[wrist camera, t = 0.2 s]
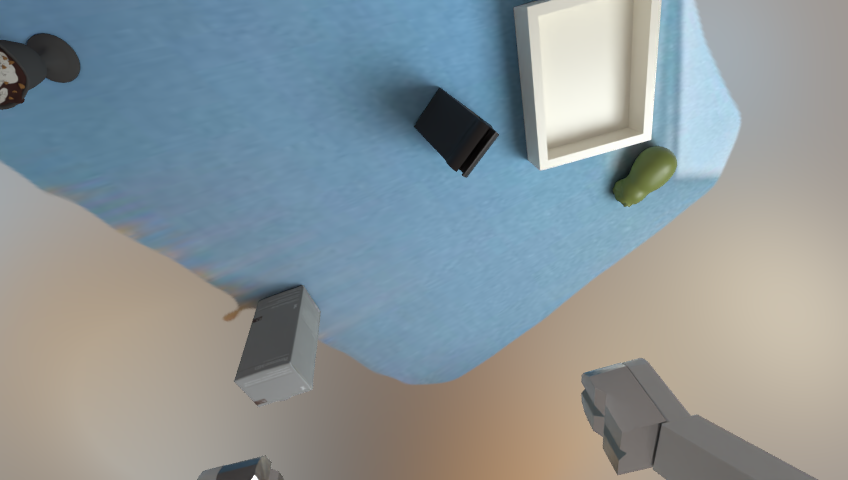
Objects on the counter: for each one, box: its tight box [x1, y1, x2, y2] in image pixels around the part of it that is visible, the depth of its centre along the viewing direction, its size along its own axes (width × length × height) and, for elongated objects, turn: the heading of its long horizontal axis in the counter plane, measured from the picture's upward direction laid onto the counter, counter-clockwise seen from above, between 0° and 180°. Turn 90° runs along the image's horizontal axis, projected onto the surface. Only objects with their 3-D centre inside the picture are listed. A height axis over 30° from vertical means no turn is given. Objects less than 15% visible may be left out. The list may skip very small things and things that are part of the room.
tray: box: [513, 0, 661, 171], centre depth 52 cm, size 20×16×4 cm
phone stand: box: [414, 88, 499, 177], centre depth 49 cm, size 9×6×12 cm, turn 54°
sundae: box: [0, 33, 80, 110], centre depth 38 cm, size 7×7×15 cm
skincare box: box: [234, 285, 321, 407], centre depth 59 cm, size 8×7×16 cm
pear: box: [613, 146, 677, 207], centre depth 61 cm, size 6×5×10 cm
